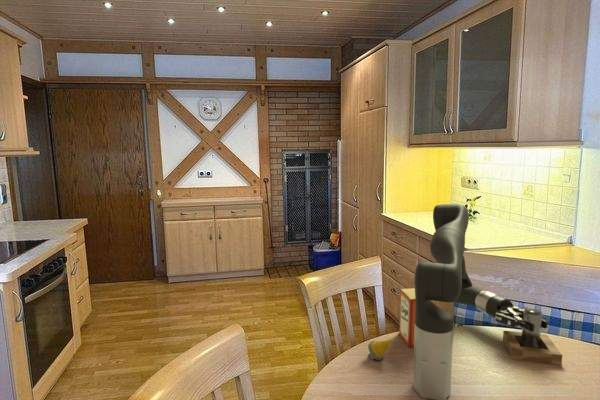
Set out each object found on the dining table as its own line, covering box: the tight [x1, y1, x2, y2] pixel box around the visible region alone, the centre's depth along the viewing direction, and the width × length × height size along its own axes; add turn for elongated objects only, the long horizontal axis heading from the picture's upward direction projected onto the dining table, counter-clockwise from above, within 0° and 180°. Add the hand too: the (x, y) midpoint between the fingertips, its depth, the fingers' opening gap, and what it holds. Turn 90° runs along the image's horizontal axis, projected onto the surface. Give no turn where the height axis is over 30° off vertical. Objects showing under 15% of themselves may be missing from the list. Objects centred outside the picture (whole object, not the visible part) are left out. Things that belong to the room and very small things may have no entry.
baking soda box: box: [398, 287, 432, 349], centre depth 125 cm, size 10×6×16 cm
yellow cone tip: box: [367, 339, 393, 361], centre depth 114 cm, size 5×5×10 cm
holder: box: [502, 330, 563, 366], centre depth 118 cm, size 12×12×3 cm
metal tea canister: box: [521, 308, 543, 348], centre depth 117 cm, size 5×5×10 cm
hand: (540, 326), depth 115 cm, fingers closed on metal tea canister, 4 cm apart
